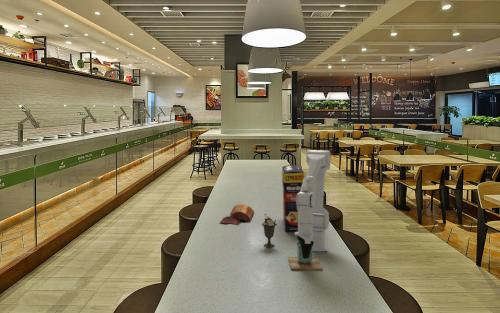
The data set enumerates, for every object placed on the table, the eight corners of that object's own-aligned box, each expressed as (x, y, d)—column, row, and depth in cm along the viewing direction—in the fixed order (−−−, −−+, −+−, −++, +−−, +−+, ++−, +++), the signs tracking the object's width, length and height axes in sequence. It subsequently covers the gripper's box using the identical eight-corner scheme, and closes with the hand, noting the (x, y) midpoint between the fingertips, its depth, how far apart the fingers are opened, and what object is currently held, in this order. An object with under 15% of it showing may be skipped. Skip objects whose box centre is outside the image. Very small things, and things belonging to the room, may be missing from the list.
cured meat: (218, 225, 204) (219, 212, 203) (225, 213, 229) (225, 202, 228) (251, 226, 203) (251, 214, 202) (254, 214, 228) (254, 203, 227)
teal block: (297, 256, 151) (296, 242, 150) (309, 256, 151) (309, 242, 150) (298, 261, 145) (298, 246, 145) (312, 261, 145) (312, 246, 145)
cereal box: (282, 218, 217) (281, 164, 213) (302, 218, 216) (301, 163, 213) (284, 233, 190) (283, 171, 187) (306, 232, 190) (305, 170, 186)
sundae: (258, 245, 170) (258, 213, 168) (268, 242, 175) (268, 211, 173) (269, 249, 165) (269, 216, 164) (279, 245, 170) (279, 213, 169)
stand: (288, 258, 154) (288, 247, 154) (316, 258, 154) (317, 247, 154) (291, 270, 142) (291, 258, 142) (322, 270, 142) (322, 258, 142)
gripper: (292, 217, 154) (292, 249, 155) (297, 227, 139) (297, 262, 141) (309, 217, 154) (309, 248, 155) (316, 227, 139) (315, 262, 141)
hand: (304, 255), depth 148 cm, fingers closed on teal block, 5 cm apart
